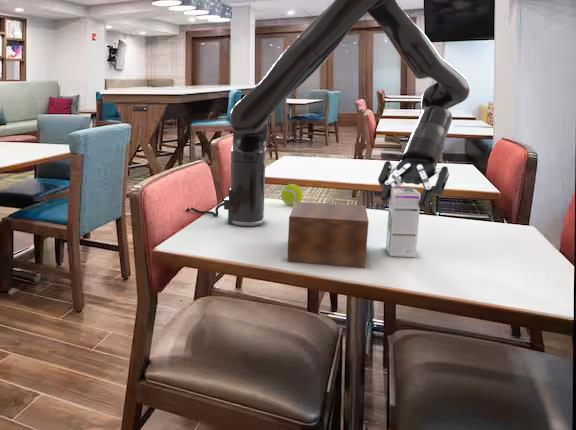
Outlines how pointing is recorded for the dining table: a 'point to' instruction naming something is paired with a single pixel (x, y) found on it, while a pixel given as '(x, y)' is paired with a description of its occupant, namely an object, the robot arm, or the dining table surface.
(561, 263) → the dining table surface
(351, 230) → the wooden box
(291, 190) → the tennis ball
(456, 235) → the dining table surface
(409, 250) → the syrup box
